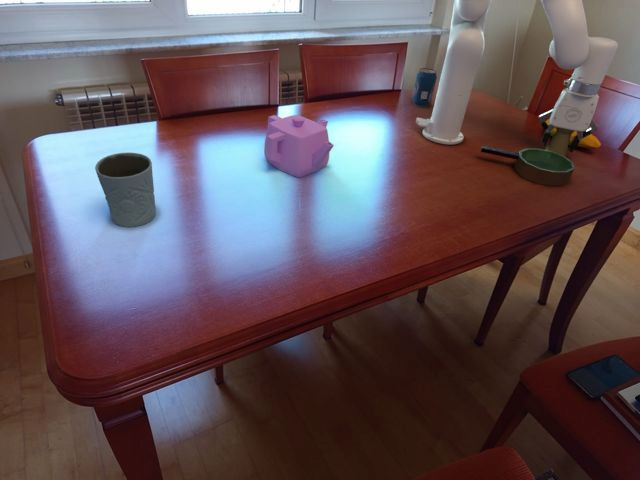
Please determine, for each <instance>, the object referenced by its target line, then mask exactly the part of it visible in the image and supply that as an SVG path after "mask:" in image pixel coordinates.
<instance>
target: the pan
mask: <svg viewBox="0 0 640 480" xmlns="http://www.w3.org/2000/svg"><path fill="white" fill-rule="evenodd" d="M480 153H485V154H489V155H494V156H498V157H502V158H507V159H512V160H515V163H514V171H515V172H516V174H517V175H519V176H520V177H522V178H523V179H525V180H527V181H529V182H532V183H535V184H539V185H541V186H547V187H548V186H549V187H560V186H564V185H566V184H567V183H569V182H570V179H571V177H572V175H573V173H574V171H575V164H574V162H573V161H572V160H570V159H569V158H568V157H567V156H566V155H565V156H562V155H560V154H558V153H555V152H552V151H548V150H545V149H543V148H535V147H533V148H530V147H529V148H528V147H527V148H524V149H522V150H519V151H518V152H517V151H512V150H507V149H503V148H497V147H493V146H489V145H488V146H487V145H483V144H482V146H481V149H480Z"/></svg>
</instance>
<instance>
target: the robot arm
mask: <svg viewBox="0 0 640 480" xmlns="http://www.w3.org/2000/svg"><path fill="white" fill-rule="evenodd" d="M540 1H541V4H542V8H543V10H544V13H545V15H546V17H547V19H548V22H549V26H550V30H551V35H552V40H551V42H550V43H549V49H548V51H549V55H550V57H551V58H552V60H553V61H554V62H555V64H556V65H557V66H558V67H559V68H560V69H563V70H565V71H572V70H573V73H572V74H571V77H570V78H569V79H564V80H563V82H562V85H564V86H566V87H564V88H563V90H562V91H561V93H560V94H559V96H558V98H557V100H556V102H555V105H554V106H553V108H552V109H550V110H548V111H546V112H543V113H541V114H540V115H538V122H539V123H540V125H541V127H542V129H543V131H544V133H543V135H542V137H541V141H540V142H541V143H542V147H544V148H546V147H547V145H548V143H549V139H550V138H551V135H550V132H551V130H553V129H554V128H555V127H558V128H563V129H569V130H573V131H577V135H576V136H574V138H573V141H572V143H571V145H569V146H568V147H569V148H568V149H569V153H573V152H574V150H577V148H578V147H579V146H578V144H579V142H580V140H582V139H583V138H584V137H587V136H589V135H590V134H592V135H593V134H594V133H596V132H598V131H599V129H600V128H599V126H598V124H597V123H596V122H595V120H594V118H593V117H594V114H595V112H596V109H597V106H598V102H599V99H600V96H599V90H600V88H601V87H602V83H603V81H604V80H605V77H606V75H607V73H608V71H609V68H610V66H611V64H612V62H613V60H614V57H615V55H616V53H617V50H618V48H619V44H618V42H617V41H616V40H614V39H612V38H608V37H601V36H589V32H588V25H587V24H588V23H587V18H586V13H585V7H584V2H583V0H540ZM492 2H493V0H453V7H452V14H451V21H450V30H449V37H448V41H447V42H448V43H447V48H446V52H445V57H444V61H443V65H442V69H441V72H440V77H439V81H438V86H437V91H436V94H435V99H434V104H433V108H432V113H431V116H430V118H426V119H425V118H423V117H416V119H415V122H414V123H415V124H416V125H417V126H418V127H421V128H423V129H422V135H423V137H424V138H426V139H427V140H428V141H431V142H433V143H436V144H440V145H449V146H450V145H452V146H454V145H458V144H461V143H462V142H463V141H464V138H465V136H464V134H463V133H462V132H461V130H462V126H463V122H464V119H465V116H466V112H467V108H468V105H469V103H470V102H469V101H470V98H471V94H472V91H473V86H474V83H475V80H476V76H477V73H478V70H479V67H480V63H481V61H482V59H483V56H484V51H485V47H486V46H485V45H486V44H485V43H486V42H485V37H484V34H485V26H486V21H487V16H488V12H489V9H490V8H491V5H492ZM548 118H549V119H550V123H549V124H548V125H547V123H546V121H547V119H548Z"/></svg>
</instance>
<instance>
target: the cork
mask: <svg viewBox="0 0 640 480" xmlns="http://www.w3.org/2000/svg"><path fill="white" fill-rule="evenodd" d="M556 129H557V130H556V132H555V134H554V135H553V137H552V136H551V139H550V141H548V143H547V145H546V146H545V149H544V150H548V151H552V152H555V153H558V154H560V155H562V156H565V157H566V155H567V150H568V147H569V145H568V144H569V141H570V137H571V134H572V133H573V132H574V131H573V130H569V129H563V128H558V127H556Z"/></svg>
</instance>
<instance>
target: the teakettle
mask: <svg viewBox="0 0 640 480" xmlns="http://www.w3.org/2000/svg"><path fill="white" fill-rule="evenodd" d="M328 123H329V121H328V120H326V119H319V121H318V122H316V121H314V120H311V119H310V118H307V117H305V116H302V115H298V114H292V115H288V116H286V117H280V116H278V115H275V114H273V115H270V116H268V117H267V130H266V134H265V138H264V157H265V160H266V162H267V163H269V164H270V165H272V166H273V167H274V168H276V169H278V170H280V171H282V172H284V173H286V174H288V175H291V176H293V177H295V178H303V177H306V176H308V175H310V174H314V173H315V172H318V171H320V170H322V169H324V168H326V167H327V165H328V163H329V162H330V161H329V160H330V152H331V151H332V149H333V148H334V146H335V145H334V144H333V143H332V142H331V141H330V139H329V132H328V128H327V126H328Z"/></svg>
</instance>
